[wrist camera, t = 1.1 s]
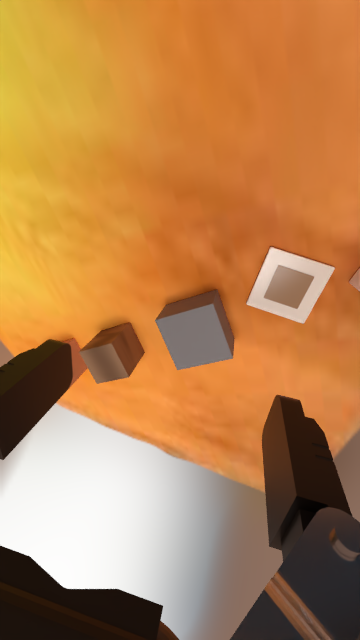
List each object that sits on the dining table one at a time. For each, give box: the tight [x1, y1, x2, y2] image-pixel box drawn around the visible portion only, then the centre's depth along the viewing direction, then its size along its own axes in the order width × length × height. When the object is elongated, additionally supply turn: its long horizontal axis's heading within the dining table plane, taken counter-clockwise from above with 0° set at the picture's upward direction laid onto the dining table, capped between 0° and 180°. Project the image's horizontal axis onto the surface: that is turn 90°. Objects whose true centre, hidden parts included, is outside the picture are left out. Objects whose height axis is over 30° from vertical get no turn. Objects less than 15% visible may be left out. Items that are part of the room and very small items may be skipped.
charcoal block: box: [155, 290, 234, 370], centre depth 33 cm, size 7×7×5 cm
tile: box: [246, 246, 335, 324], centre depth 30 cm, size 7×7×1 cm
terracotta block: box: [63, 338, 88, 389], centre depth 40 cm, size 5×5×6 cm
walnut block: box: [79, 323, 145, 384], centre depth 36 cm, size 5×5×6 cm
